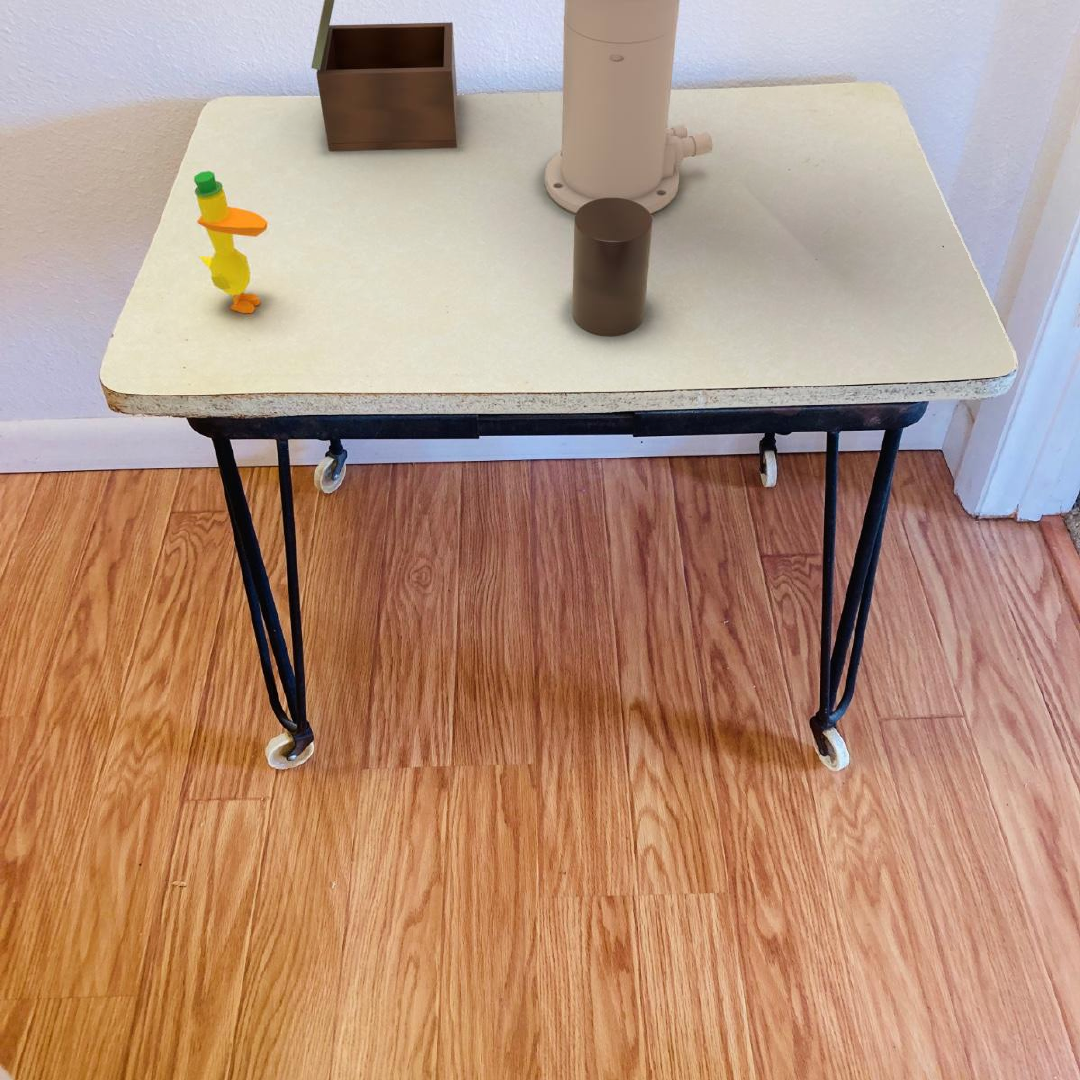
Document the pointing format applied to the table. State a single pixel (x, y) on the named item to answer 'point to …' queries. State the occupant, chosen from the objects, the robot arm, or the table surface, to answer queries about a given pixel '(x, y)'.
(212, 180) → the toy figure
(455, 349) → the table surface
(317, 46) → the lid
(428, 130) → the brown wooden open box
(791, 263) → the table surface
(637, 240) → the peg stand
